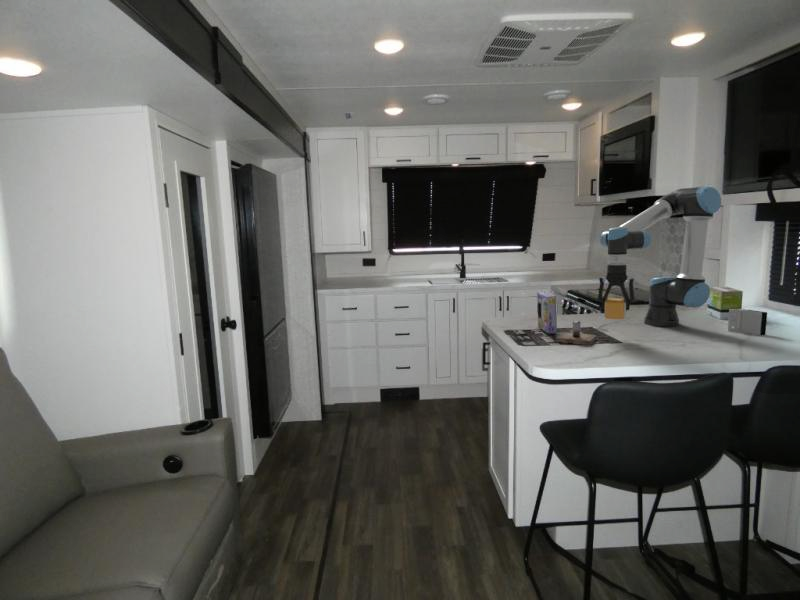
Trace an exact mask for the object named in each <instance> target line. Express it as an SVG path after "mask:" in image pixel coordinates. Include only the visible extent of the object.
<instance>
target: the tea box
mask: <svg viewBox="0 0 800 600" xmlns="http://www.w3.org/2000/svg"><path fill="white" fill-rule="evenodd" d="M709 288H710V295H709V298H708V300H707V302H706V304H707V305H706V306H707V308H706V314H707V315H709V316H711V317H714V318H716V319H719V320H729V309H736V310H739V309H743V308H742V307H743V305H742V304H743V294H744V292H743V290H739V289H736V288H733V287H730V286H713V287H710V286H709ZM733 315H735V313H733Z"/></svg>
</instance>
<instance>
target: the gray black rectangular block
mask: <svg viewBox="0 0 800 600" xmlns="http://www.w3.org/2000/svg"><path fill="white" fill-rule="evenodd" d="M733 313H735V315H733ZM727 320H728V321H727V322H728V323H727V332H733V333H734V332H735V333H737V332H738V333H745V334H748V335H754V334H755V336H762V335H763V336H766V331H767V322H768V321H767V320H768V312H767V311H761V310H754V309H744V308H742V309H739V310H736V309H729V319H727Z"/></svg>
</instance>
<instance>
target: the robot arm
mask: <svg viewBox="0 0 800 600" xmlns="http://www.w3.org/2000/svg"><path fill="white" fill-rule="evenodd" d="M721 206H722V197H721V194H720V192H719V191H718V189H716V188H715V187H713V186H698V187H697V186H696V187H688V188H687V187H686V188H679V189H676V190H674V191H672V192H670V193H668V194H665V195H664V196H662V197H661V198H659V199H657V200H656V201H654V203H653V205H652V206H650V207H648V208H647V209H645V210H644V211H642V212H640V213H639V214H637V215H636V216H633V217H632V218H630V219H629V220H628V221H626V222H624V223H623V224H621V225H619V226H618V227H611V228H609V229H608V230H606V231H604V232H602V233H601V235H600V237H599V241H600V245H601V246H602V247H604V248H607V261H606V262H607V266H606V267H607V268H606V276H604V277H603V276H601V277H600V278H598V281H599V288H598V294H597V300H598V301H601V303H602V304H601V308H602V309H603V310H605V305H606V300H607V299H608V298H609V295H610V293H611V291H612V288H613V287H619V288H620V290H621V293H622V295H623V298H625V301H626V302H625V303H624V319H626V318H627V315H628V314H627V313H628V312H627V311H629V310H630V305H631V303H632V302H634V301H635V292H634V291H635V289H634V281H635V278H633V277H629V276H628V275H627V266H628V265H627V261H628V259H627V258H628V250H641V249H642V250H643V249H646V248H648V247H649V246H651V243H652V236H651V233H650V232H648V231H646V229H648V228H650V227H651V226H654V224H657V223H658V222H659V221H661V220H664V219H669V218H670V217H672V216H676V215H682V219H684V221H685V230H684V237H683V238H684V239H683V246H682V254H681V255H682V256H681V262H680V263H681V264H680V271H679V274H677V275H676V276H662V277H652V278H651V279H650V282H649V294H648V295H649V298H648V299H649V303H648V309H647V312H646V314H645V316H644V321H643V322H644V324H646V325H650V326H656V327H677V326H679V325H680V318H679V315H678V312H677V306H681V307H686V308H694V309H695V308H700V307H702V306H704V305H705V303H706V304H707V302H708V298H709V295H710V288H709V287H710V286H709V285H708V284H707V283H706V278H705V277H704V276H703V266H704V260H705V259H704V258H705V251H706V243H707V237H708V236H707V235H708V228H709V227H708V225H709V222H710V220H712V219H713V217H714V214H715V213H717V212H718V211H719V209H720V208H721ZM606 280H607V282H608V285H607V288H606V291H605V292H604V288H605V287H604V286H605V283H606ZM626 281H627V283H628V288H629V294H628V292H627V288H626V285H625V282H626ZM603 294H604V295H603ZM604 318H605V314H604Z"/></svg>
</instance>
